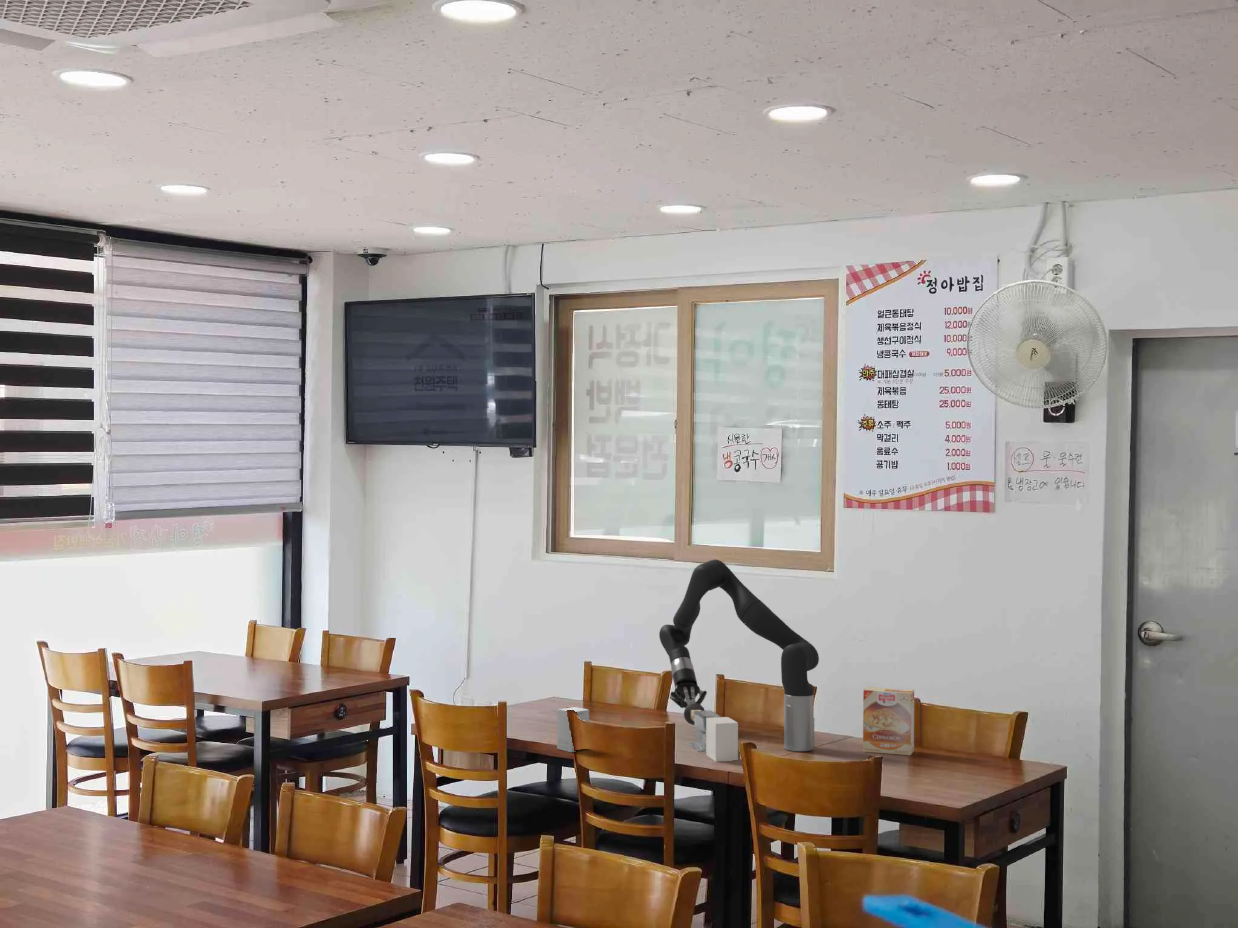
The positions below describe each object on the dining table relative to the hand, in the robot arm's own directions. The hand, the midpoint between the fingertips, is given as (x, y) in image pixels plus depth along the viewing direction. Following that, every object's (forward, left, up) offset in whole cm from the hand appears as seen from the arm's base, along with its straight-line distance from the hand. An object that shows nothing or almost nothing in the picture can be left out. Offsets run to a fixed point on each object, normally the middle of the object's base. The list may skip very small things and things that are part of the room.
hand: (693, 716), depth 451 cm
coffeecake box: (-19, +60, -7) cm, 64 cm away
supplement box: (+40, -19, -7) cm, 44 cm away
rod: (+8, +10, -2) cm, 13 cm away
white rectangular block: (+21, +25, -7) cm, 33 cm away
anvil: (+11, +12, -7) cm, 18 cm away
